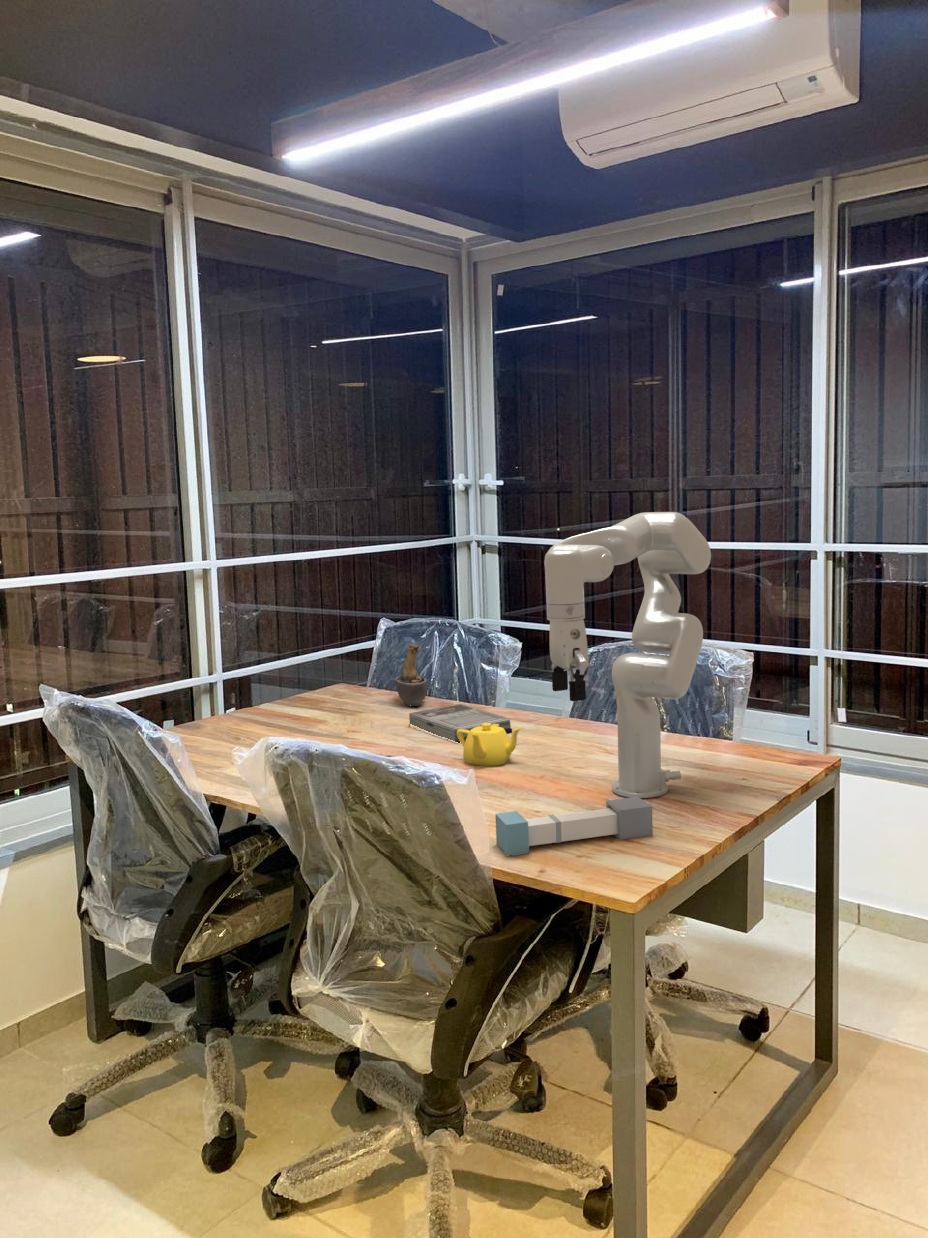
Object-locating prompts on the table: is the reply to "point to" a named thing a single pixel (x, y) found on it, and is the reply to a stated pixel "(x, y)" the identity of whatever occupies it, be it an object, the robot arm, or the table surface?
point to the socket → (512, 833)
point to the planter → (411, 680)
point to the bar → (572, 826)
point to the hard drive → (455, 720)
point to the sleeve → (632, 817)
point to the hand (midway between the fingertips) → (568, 695)
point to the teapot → (487, 744)
